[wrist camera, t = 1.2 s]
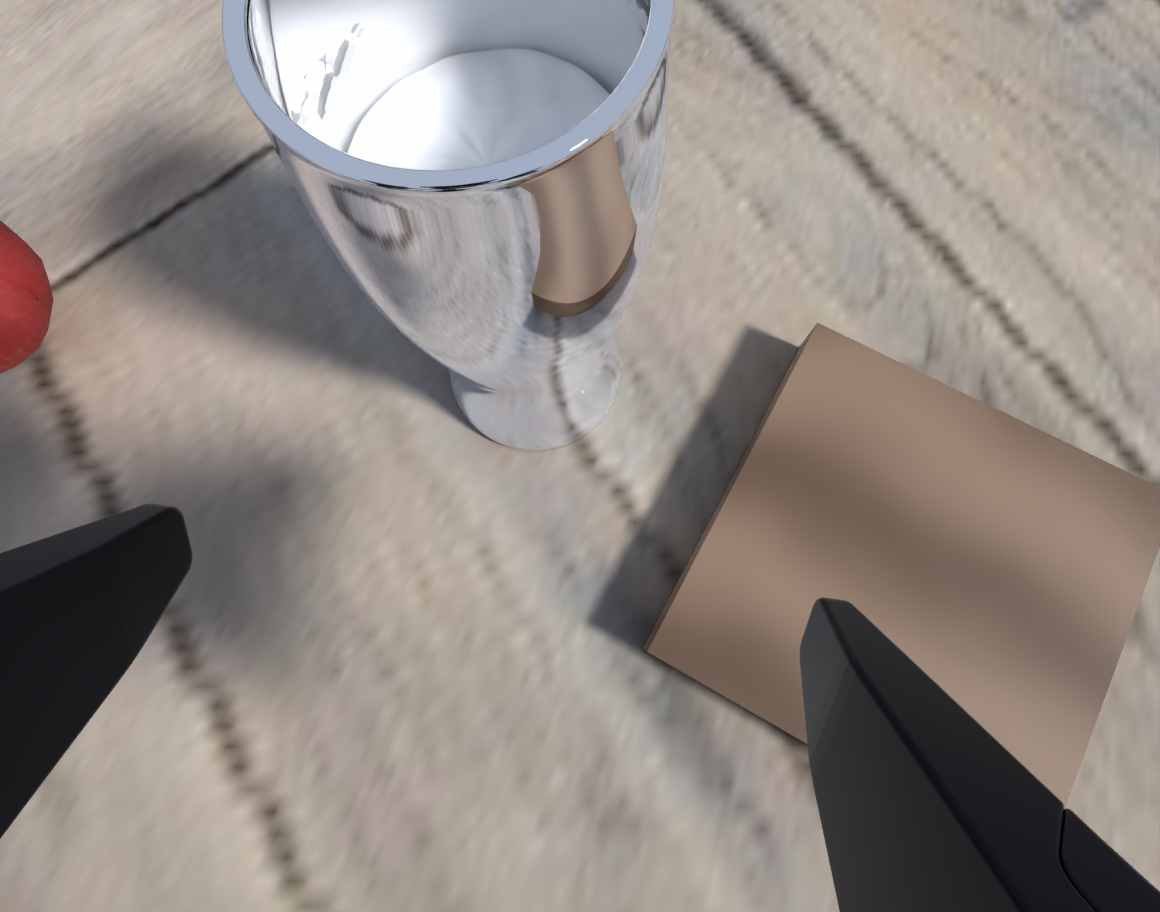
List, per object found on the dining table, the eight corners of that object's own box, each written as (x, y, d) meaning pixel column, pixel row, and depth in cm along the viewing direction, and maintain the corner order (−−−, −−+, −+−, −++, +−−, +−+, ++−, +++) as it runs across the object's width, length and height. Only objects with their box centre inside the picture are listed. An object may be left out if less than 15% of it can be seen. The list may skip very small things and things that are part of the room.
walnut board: (996, 853, 20) (1038, 877, 18) (642, 648, 22) (647, 651, 20) (1127, 507, 22) (1177, 496, 21) (799, 347, 24) (817, 323, 22)
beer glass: (429, 458, 23) (158, 193, 9) (450, 278, 25) (250, -195, 11) (629, 469, 23) (685, 213, 9) (636, 286, 25) (695, -188, 10)
